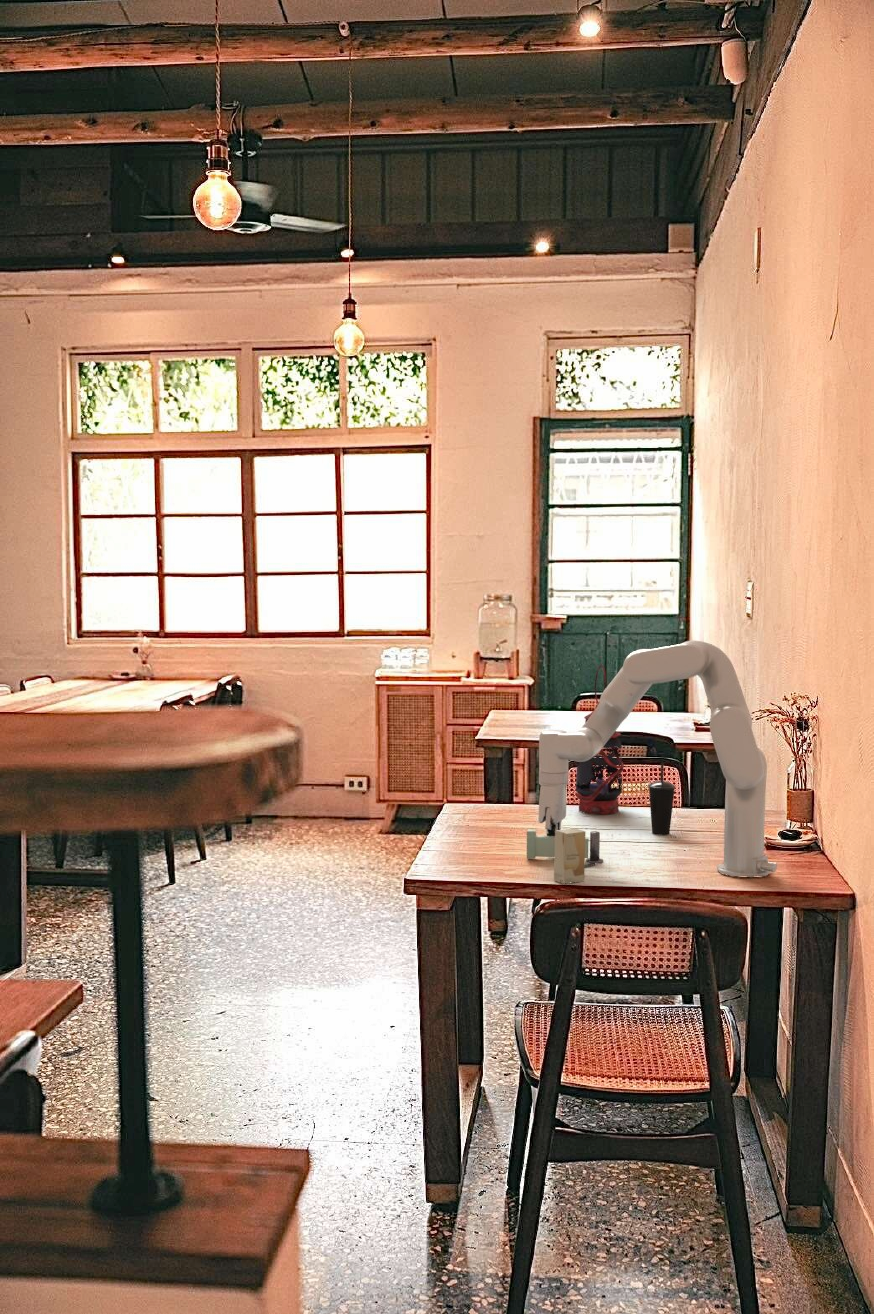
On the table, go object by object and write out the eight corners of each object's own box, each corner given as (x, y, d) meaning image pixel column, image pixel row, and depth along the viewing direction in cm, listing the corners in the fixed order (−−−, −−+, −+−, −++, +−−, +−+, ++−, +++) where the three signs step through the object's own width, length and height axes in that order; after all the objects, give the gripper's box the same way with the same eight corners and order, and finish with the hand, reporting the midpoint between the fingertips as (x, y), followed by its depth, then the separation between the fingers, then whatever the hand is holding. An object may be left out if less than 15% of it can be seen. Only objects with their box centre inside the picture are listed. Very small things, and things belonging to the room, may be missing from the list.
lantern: (583, 804, 384) (585, 662, 381) (628, 808, 378) (631, 664, 375) (569, 813, 369) (571, 666, 366) (616, 817, 364) (618, 668, 361)
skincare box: (564, 885, 286) (565, 833, 285) (553, 881, 289) (553, 830, 288) (585, 881, 289) (586, 830, 288) (574, 877, 293) (575, 827, 292)
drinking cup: (674, 837, 338) (676, 765, 336) (646, 835, 339) (648, 764, 338) (674, 831, 345) (676, 761, 344) (647, 830, 347) (648, 760, 345)
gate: (588, 858, 310) (588, 831, 310) (588, 860, 308) (588, 833, 307) (527, 856, 312) (527, 829, 311) (526, 858, 310) (526, 831, 309)
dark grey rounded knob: (606, 861, 309) (607, 832, 308) (595, 864, 306) (596, 835, 305) (593, 858, 312) (593, 829, 311) (582, 861, 309) (582, 832, 308)
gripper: (548, 773, 320) (548, 841, 322) (530, 782, 307) (530, 853, 308) (575, 774, 318) (575, 844, 319) (559, 784, 304) (559, 856, 305)
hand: (553, 848), depth 313 cm, fingers closed
